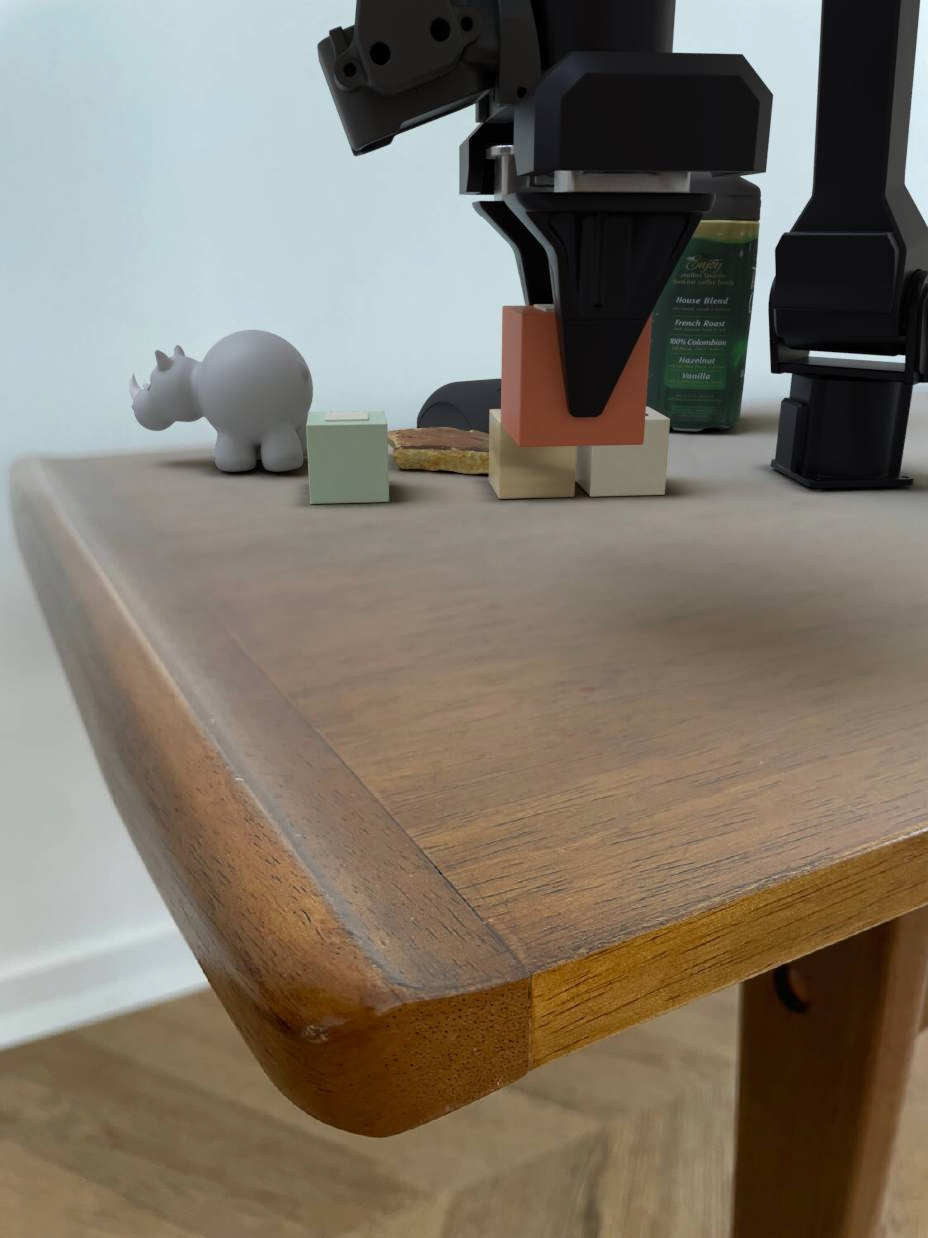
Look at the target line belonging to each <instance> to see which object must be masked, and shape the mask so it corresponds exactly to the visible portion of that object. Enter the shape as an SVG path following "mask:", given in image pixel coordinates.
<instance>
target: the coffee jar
mask: <svg viewBox="0 0 928 1238" xmlns="http://www.w3.org/2000/svg"><path fill="white" fill-rule="evenodd" d="M689 193H715V194H716V199H715V203H714V206H713V208H712V211H711V212H706V213H705V214H704V216H703V218H702V219H701V221H700V223H699V225H698V227H697V229H696V230H695V232H694V234H693V236H692V238H691V240H690V242H689V243H688V245H687V247H686V249H685V251H684V253H683V255H682V256H681V258H680V260H679V262H678V264H677V266H676V268H675V269H674V271H673V273H672V275H671V277H670V279H669V281H668V282H667V284H666V286H665V288H664V290H663V292H662V294H661V296H660V298H659V300H658V302H657V304H656V306H655V308H654V310H653V312H652V314H651V315H652V318H651V334H650V350H649V366H648V381H647V397H646V407H650V408H651V409H653V410H655V411H657V412H659V413H660V414H662V415H664V416H666V417H667V418H669V419H670V427H669V428H672V430H674V431H676V432H677V431H678V432H679V431H680V432H701V431H703V430H705V429H719V430H725V429H730V428H732V427H734V426H735V425H736V424H737V423H738V421H739V419H740V417H741V412H742V411H741V410H742V403H743V393H744V386H745V375H746V366H747V365H746V364H747V356H748V347H749V338H750V330H751V323H752V322H751V321H752V314H753V306H754V305H753V303H754V294H755V283H756V277H757V264H758V253H759V252H758V251H759V236H760V226H761V223H760V220H761V207H762V199H761V198H762V191H761V188H760V187H759V186H758V185H757V184H755V183H753V182H752V181H749V180H748V179H746V178H744V177H743V176H738V177H712V176H711V172H691V173H690V187H689Z"/></svg>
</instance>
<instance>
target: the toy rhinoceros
mask: <svg viewBox="0 0 928 1238" xmlns="http://www.w3.org/2000/svg"><path fill="white" fill-rule="evenodd" d="M154 356H155V360H156V366H155V367H154V369H152V371H151V373H150V377H149V381H150V382H149V383H148V382H146V381H143V382H142V387H143V388H141V386H140V385H139V384H138V382H137V379H136V376H135V373H134V372H132V373H131V375H130V377H129V381H128V391H129V395H130V397H131V399H132V404H131V409H132V410H133V415H134V417H135V419H136V421H137V423H138V424H139V425H140V426H142V427H143V428H145V429H147V430H148V431H151V432H152V431H153V432H162V431H165V430H166V429H168V428H170V427H171V426H172V425H173V424H174V423H176V422H178V423H179V422H182V423H193V422H197V421H198V420H200V419H201V418H205V419H206V420H207V421H208V423H209V424H210V425H211V427H212V428H213V429H214V430H215V431H216V433H217V434H216V435H217V436H216V441H215V444H214V463H215V466H216V468H217V469H219V470H220V471H224V472H230V473H231V472H232V473H235V472H237V473H238V472H239V473H240V472H245V471H250V470H253V469H254V468H255V467H256V465H257V461H259V460H261V463H262V466H263V468H264V469H265V470H266V471H269V472H277V473H278V472H288V471H293V470H296V469H299V468H301V467H302V466H303V464H304V458H306V457H308V451H307V432H306V424H307V418H308V413H309V412H310V410H311V407H312V404H313V399H314V383H313V376H312V375H311V374H312V373H311V371H310V368H309V366H308V364H307V362H306V360H305V358H304V356H303V355H302V354H301V353H300V351H299V350H298V349H297V348H296V347H295V346H294V345H293V344H292V343H290V341H288V340H287V339H285V338H283V337H282V336H280V335H278V334H275V333H273V332H270V331H266V330H261V329H244V330H239V331H235V332H232V333H229V334H228V335H226V336H224V337H222V338H221V339H219V340H217V342H215V343H214V344H213V345H212V346H211V347H210V349H209V350H208V351H207V352H206V353H205V355H204V357H203V358H202V361H200V360H196V359H195V358H193V357H190V356H186V353H185V351H184V349H183V348H182V346H180V345H179V344H176V345H175V346H174V347H173V356H168V355H167V354H166V353H165V352H163V351H161V350H159V349H156V350H155V351H154Z"/></svg>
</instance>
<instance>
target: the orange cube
mask: <svg viewBox="0 0 928 1238" xmlns="http://www.w3.org/2000/svg"><path fill="white" fill-rule="evenodd" d="M501 311H502V313H501V314H502V315H501V372H500V373H501V375H500V376H501V377H500V379H501V426H502V427H503V428H504V429H505V430H506V431H507V433H508V434H509V435H510V436H511V437H512V439H513V440H514V441H515V442H516V443H517V445H518V446H519V447H554V446H605V445H642V444H643V443H644V429H645V413H646V397H647V381H648V366H649V350H650V334H651V318H652V315H651V316H650V318H649V319H648V321H647V323H646V325H645V327H644V329H643V331H642V333H641V335H640V337H639V339H638V341H637V343H636V346H635V348H634V350H633V352H632V354H631V356H630V358H629V360H628V362H627V364H626V366H625V368H624V370H623V372H622V374H621V376H620V378H619V380H618V382H617V384H616V386H615V388H614V390H613V392H612V394H611V396H610V398H609V401H608V403H607V405H606V407H605V409H604V411H603V412H602V414H601V415H600V416H598V417H587V418H575V417H573V416H571V415H570V414H569V412H568V410H567V403H566V396H565V389H564V382H563V375H562V368H561V360H560V351H559V343H558V335H557V326H556V318H555V310H554V304H534V306H525V305H503V306H502V309H501Z"/></svg>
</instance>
